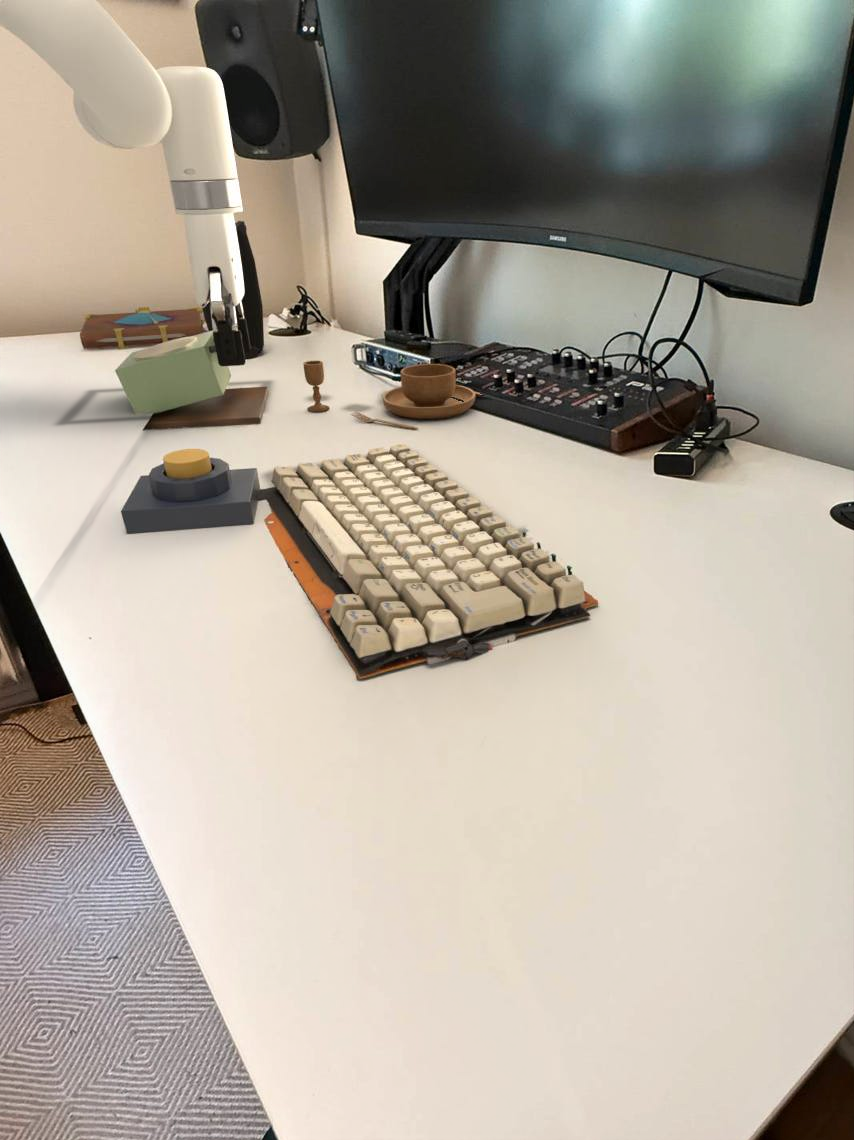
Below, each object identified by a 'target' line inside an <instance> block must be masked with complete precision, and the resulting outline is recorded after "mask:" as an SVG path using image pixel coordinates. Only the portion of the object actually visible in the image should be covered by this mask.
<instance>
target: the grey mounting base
mask: <svg viewBox="0 0 854 1140" xmlns="http://www.w3.org/2000/svg"><path fill="white" fill-rule="evenodd" d="M210 462H211V467H212V471H211V472H209V473H207V474H205V475H201V476H197V477H193V478H181V479H177V478H170V477H167V475H166V470H165V466H164V462H163V463H160V464H159V465H157V466H155V467H153V468H151V469H150V472H149V473H148V474H147V475H140V476H139V478H138V480H137V482H136V484H135V486H134V487H133V489H132V490H131V492H130V494H129V496H128V497H127V500H126V502H125V503H124V504H123V507H122V509H121V510H120V514H121V517H122V521H123V524H124V525H123V526H124V529H125V532H126V534H127V535H129V534H130V535H131V534H144V533H156V532H170V531H182V530H183V531H184V530H195V529H207V528H209V529H210V528H223V527H234V526H235V527H236V526H248V525H249V526H250V525H254V523H255V518H256V513H257V507H258V503H259V501H258V497H259V493H260V490H261V484H260V477H259V473H258V468H257V467H250V468H249V467H247V468H235V469H230V465H229V463H228V462H226V461H225V460H223V459H221V458H217V457H210Z"/></svg>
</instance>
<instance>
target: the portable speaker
mask: <svg viewBox="0 0 854 1140" xmlns="http://www.w3.org/2000/svg"><path fill="white" fill-rule="evenodd" d="M235 227H236V233H237V239H238V245H239V251H240V258H241V265H242V272H243V281H244V296H243V298H242V300H241V303H242V307H243V312H244V319H246V323H247V329H248V336H249V342H250V348H251V349H250V351H249V352H244V355H245V360H247V359H252V358H257V356H258V354H259V353H262V352H263V350H264V346H265V335H264V334H265V333H264V309H263V308H264V307H263V301H262V295H261V289H260V284H259V283H260V282H259V278H258V277H259V276H258V272H257V266H256V260H255V258H254V257H255V256H254V254H253V253H254V252H253V250H252V247H251V243H250V240H249V237H248V233H247V230H248V229H247V225H246V223H245V221H244V220H238V221H237V222H235ZM202 314H203V318H204V322H205V325H206V327H207V331H213V327H212V319H211V310H210V302H208V304H207V305H206V306H205V307H204V308H203V312H202Z"/></svg>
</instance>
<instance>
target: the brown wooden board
mask: <svg viewBox="0 0 854 1140" xmlns="http://www.w3.org/2000/svg"><path fill="white" fill-rule="evenodd" d="M268 394H269V388H268V386H256V387H255V386H254V387H235V388H234V387H233V388H226V389H225V392H224V394H223V395H221V396H218V397H214V398H210V399H207V400H203V401H199V402H196V403H192V404H188V405H185V406H181V407H177V408H174V409H170V410H166V411H163V412H159V413H155V414H153V413H152V415H150V417H149V419H148V420H147V422H146V423H145V426H144V427H143V429H142V431H151V430H153V429H155V430H168V429H167V428H171V429H184V428H183V427H188V428H203V427H219V426H235V425H252V424H254V425H255V424H261V423H262V419H263V415H264V411H265V406H266V402H267V399H268ZM153 431H154V430H153Z"/></svg>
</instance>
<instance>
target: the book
mask: <svg viewBox="0 0 854 1140" xmlns="http://www.w3.org/2000/svg"><path fill="white" fill-rule="evenodd" d="M201 314H203V308H201V307H199V306H194V307H187V308H185V309H169V310H167V309H166V310H154V311H151V309H150V307H149V306H142V307H138V309H137V308H136V309H135V310H134V312H120V313H105V314H99V313H88V314H85V315H84V316H83V317H84V319H85V320H84V323H83V325H82V328H81V330H80V332H79V338H80V343H81V345H82V348H83V350H85V349H86V350H87V349H100V348H112V347H113V348H115V347H116V348H117V347H118V349H119V350H125V349H126V348H127V346H141V345H157V344H160V343H164V342H167V341H170V340H174V339H179V338H184V337H190V336H194V335H198V334H202V333H205V332H209V331H208V329H207V330H206V329H204V325H206V322H205V319H202V318H201V317H202V316H201Z"/></svg>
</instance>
